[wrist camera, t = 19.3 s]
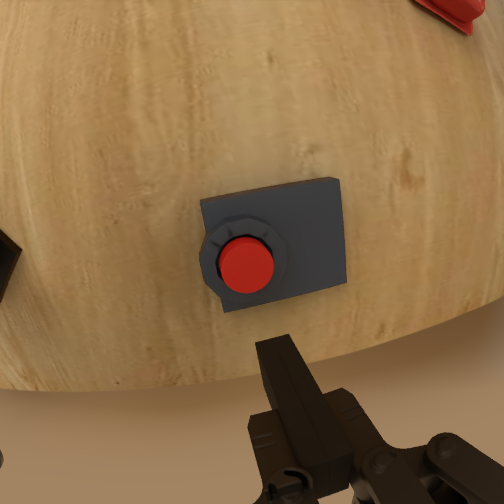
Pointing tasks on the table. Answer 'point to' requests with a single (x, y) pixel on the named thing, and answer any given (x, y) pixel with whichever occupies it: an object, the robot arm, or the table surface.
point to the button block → (278, 238)
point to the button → (246, 265)
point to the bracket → (7, 260)
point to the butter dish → (456, 11)
